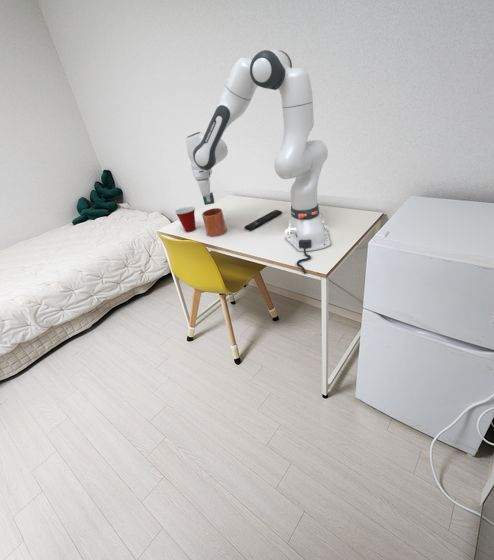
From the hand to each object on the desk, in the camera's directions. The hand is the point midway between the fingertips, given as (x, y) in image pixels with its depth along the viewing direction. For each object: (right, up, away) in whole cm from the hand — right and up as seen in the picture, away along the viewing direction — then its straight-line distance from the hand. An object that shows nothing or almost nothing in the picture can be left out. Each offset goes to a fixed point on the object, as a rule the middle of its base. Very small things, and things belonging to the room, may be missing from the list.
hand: (209, 199), depth 151 cm
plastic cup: (-12, -12, +18) cm, 25 cm away
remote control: (+28, -9, +11) cm, 31 cm away
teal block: (0, -1, +1) cm, 2 cm away
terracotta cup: (+3, -14, +10) cm, 18 cm away
